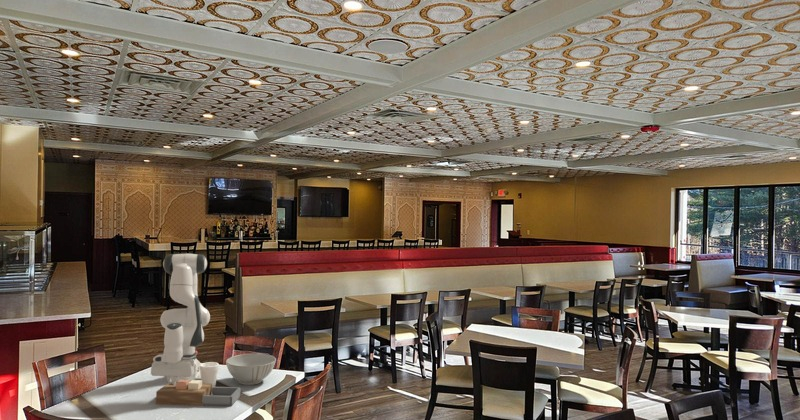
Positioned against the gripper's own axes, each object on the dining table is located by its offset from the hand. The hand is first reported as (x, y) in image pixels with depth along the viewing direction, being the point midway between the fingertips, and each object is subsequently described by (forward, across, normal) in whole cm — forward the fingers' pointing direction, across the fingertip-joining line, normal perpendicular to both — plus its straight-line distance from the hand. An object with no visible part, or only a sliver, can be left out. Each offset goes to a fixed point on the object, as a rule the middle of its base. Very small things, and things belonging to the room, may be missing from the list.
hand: (172, 384), depth 263 cm
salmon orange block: (+1, -5, 0) cm, 6 cm away
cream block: (+1, -11, 0) cm, 11 cm away
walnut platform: (+7, -6, 0) cm, 10 cm away
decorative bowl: (+7, -30, -32) cm, 44 cm away
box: (+7, -25, 0) cm, 26 cm away
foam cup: (+7, -12, -17) cm, 22 cm away
